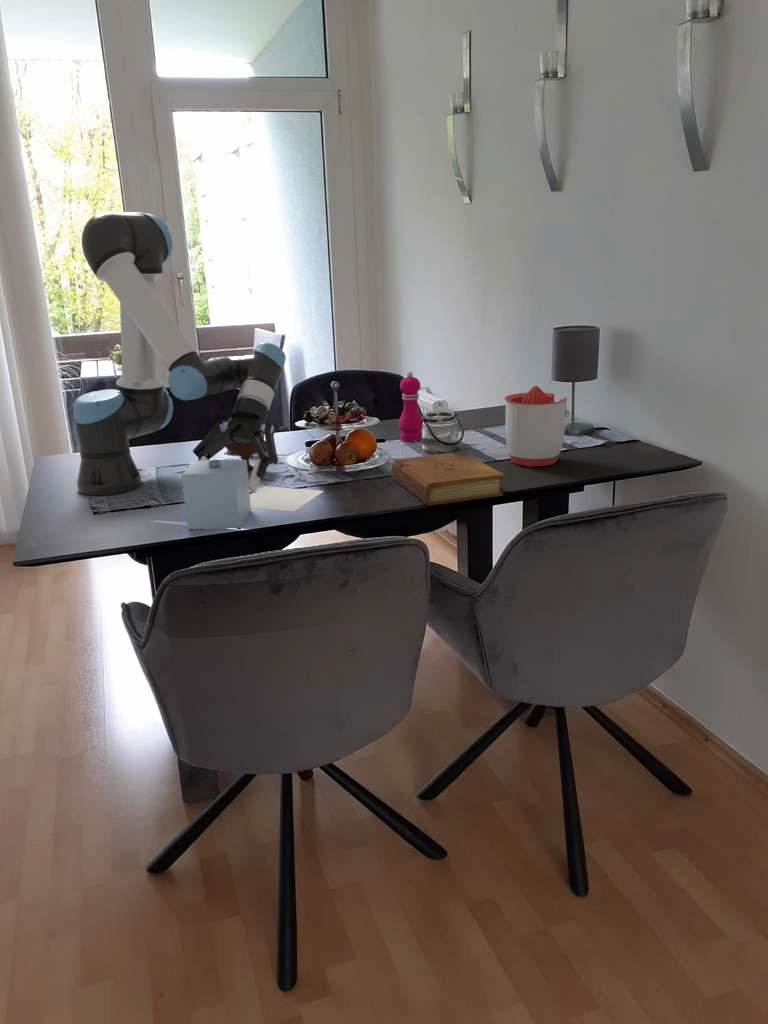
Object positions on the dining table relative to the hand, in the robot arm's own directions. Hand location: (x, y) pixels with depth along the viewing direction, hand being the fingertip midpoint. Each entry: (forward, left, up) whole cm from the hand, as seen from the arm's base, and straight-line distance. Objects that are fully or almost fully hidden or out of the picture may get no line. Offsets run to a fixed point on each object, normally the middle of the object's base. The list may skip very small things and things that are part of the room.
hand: (223, 487), depth 175 cm
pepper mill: (-26, +76, -7) cm, 81 cm away
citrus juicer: (+18, +81, -7) cm, 84 cm away
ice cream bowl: (-30, +22, -7) cm, 38 cm away
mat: (-2, +14, -6) cm, 16 cm away
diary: (+18, +48, -7) cm, 52 cm away
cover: (+2, -3, -6) cm, 7 cm away
